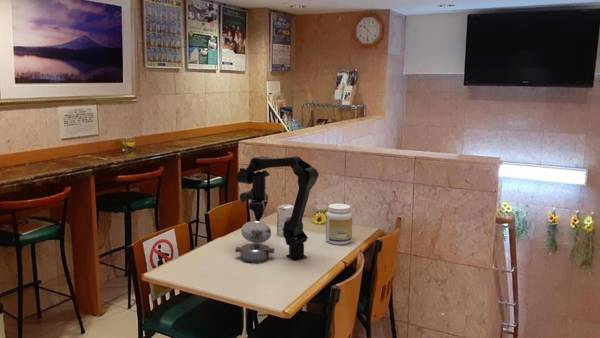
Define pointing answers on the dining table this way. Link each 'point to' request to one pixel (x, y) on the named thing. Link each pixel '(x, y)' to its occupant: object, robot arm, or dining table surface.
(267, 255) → the cooker pot
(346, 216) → the supplement tub
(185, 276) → the dining table surface
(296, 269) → the dining table surface
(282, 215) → the syrup box
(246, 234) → the cooker lid
